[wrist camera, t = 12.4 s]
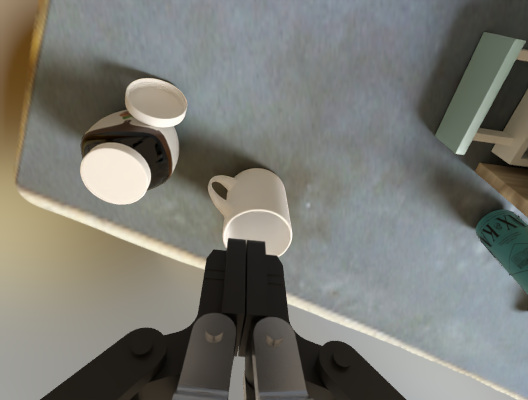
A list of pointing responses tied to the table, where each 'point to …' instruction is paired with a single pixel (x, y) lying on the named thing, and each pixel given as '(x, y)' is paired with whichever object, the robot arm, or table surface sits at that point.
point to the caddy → (487, 102)
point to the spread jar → (134, 143)
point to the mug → (254, 209)
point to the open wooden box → (507, 183)
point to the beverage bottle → (507, 242)
